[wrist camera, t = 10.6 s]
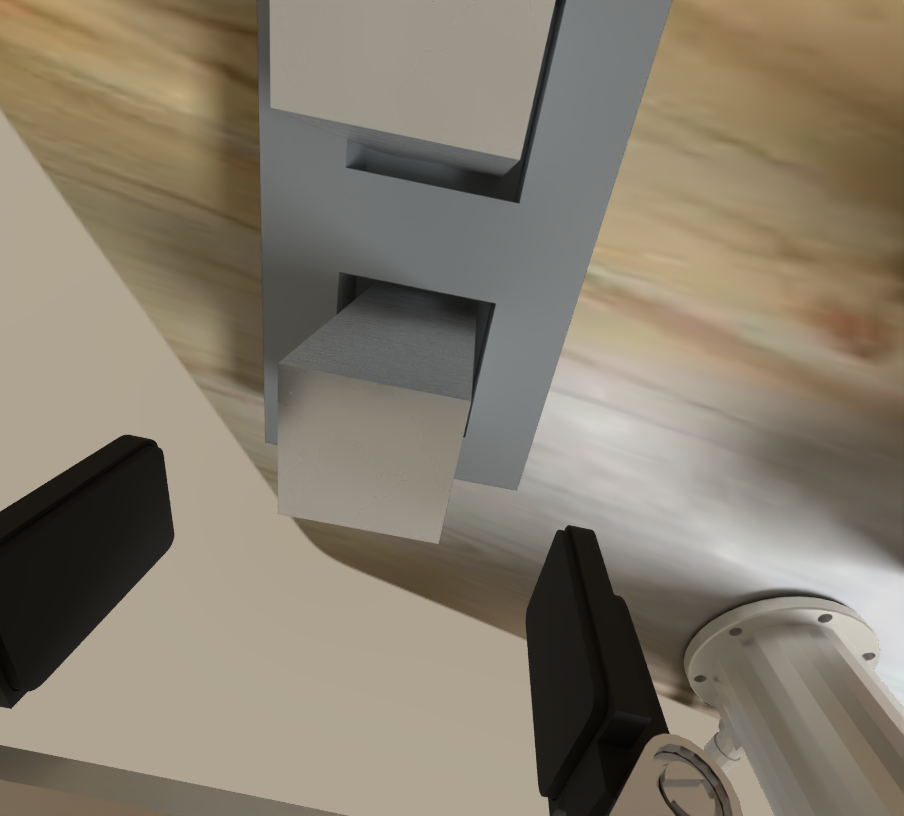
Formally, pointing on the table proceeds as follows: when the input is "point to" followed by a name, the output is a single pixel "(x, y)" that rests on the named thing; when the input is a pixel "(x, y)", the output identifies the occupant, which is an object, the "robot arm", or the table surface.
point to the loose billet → (377, 413)
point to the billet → (413, 74)
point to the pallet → (461, 223)
